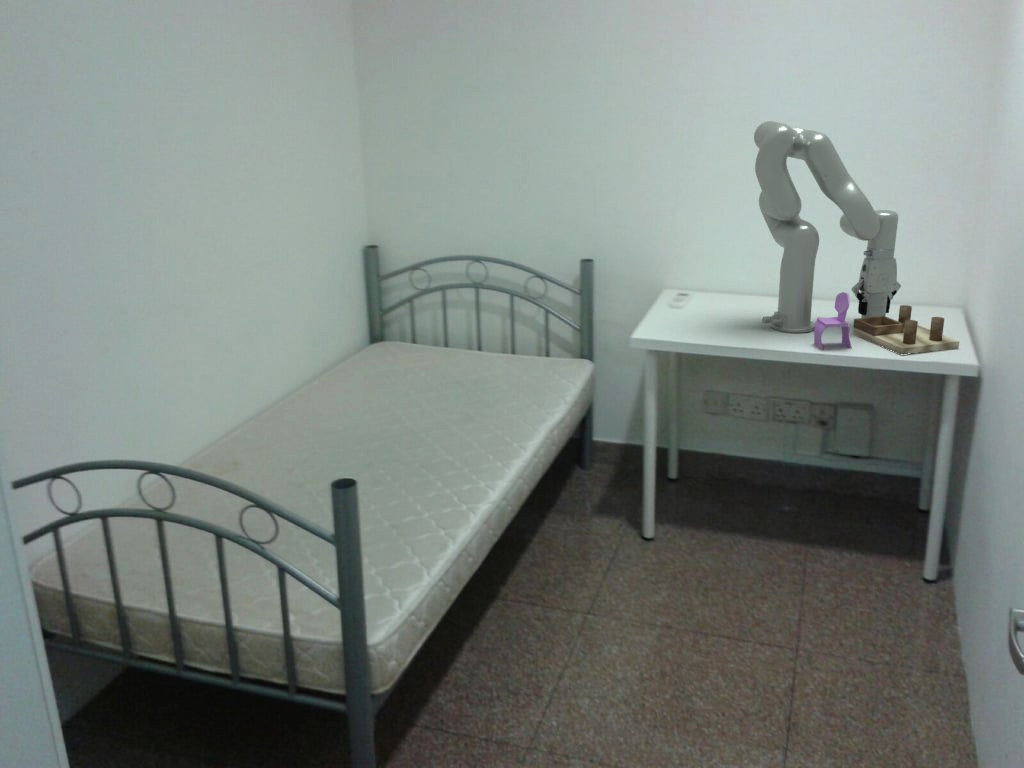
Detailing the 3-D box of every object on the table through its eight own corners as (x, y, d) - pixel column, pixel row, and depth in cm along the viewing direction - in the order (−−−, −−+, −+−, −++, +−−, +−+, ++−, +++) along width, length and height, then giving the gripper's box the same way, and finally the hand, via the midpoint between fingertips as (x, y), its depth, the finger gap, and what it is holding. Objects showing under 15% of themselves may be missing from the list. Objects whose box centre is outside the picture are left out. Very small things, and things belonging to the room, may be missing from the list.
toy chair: (811, 342, 274) (815, 290, 269) (841, 341, 274) (846, 289, 269) (822, 351, 266) (826, 297, 261) (853, 349, 267) (858, 296, 262)
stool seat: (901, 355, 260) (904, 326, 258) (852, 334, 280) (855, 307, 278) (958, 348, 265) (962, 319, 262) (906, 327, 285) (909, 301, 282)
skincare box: (880, 321, 291) (885, 282, 288) (884, 325, 287) (889, 285, 284) (860, 321, 292) (864, 281, 288) (863, 324, 288) (867, 285, 284)
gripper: (861, 258, 277) (855, 318, 283) (914, 254, 282) (906, 313, 288) (846, 253, 284) (840, 312, 290) (897, 249, 289) (890, 307, 294)
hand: (873, 312), depth 289 cm, fingers closed on skincare box, 7 cm apart
